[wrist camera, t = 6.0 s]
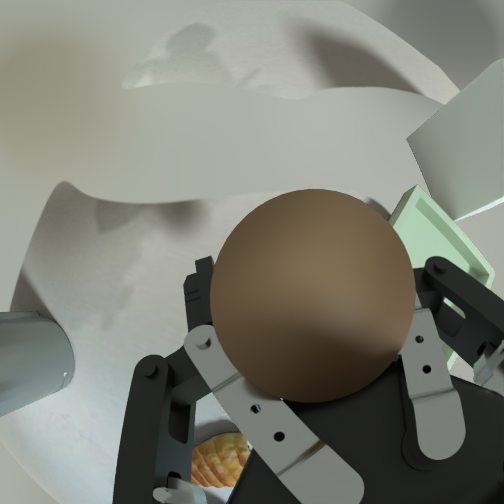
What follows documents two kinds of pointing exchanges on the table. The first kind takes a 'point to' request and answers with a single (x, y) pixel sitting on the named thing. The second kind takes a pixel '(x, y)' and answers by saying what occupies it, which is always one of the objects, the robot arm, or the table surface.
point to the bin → (437, 243)
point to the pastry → (220, 460)
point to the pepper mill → (312, 295)
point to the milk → (466, 147)
